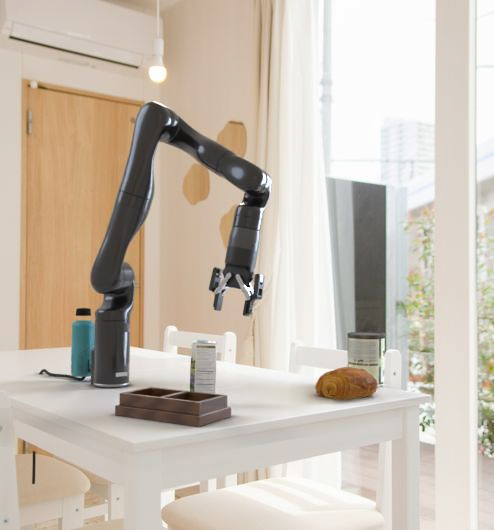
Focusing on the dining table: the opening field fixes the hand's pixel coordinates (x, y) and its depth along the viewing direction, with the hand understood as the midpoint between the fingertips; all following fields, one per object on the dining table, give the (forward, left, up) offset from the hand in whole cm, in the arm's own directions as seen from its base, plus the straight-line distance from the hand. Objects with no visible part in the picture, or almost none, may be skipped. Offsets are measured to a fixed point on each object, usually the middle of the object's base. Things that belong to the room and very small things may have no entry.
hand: (231, 313), depth 169 cm
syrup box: (+1, -13, -21) cm, 24 cm away
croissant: (+23, +18, -21) cm, 35 cm away
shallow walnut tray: (+2, -26, -20) cm, 33 cm away
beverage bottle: (-47, 0, -21) cm, 52 cm away
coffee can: (+21, +38, -21) cm, 48 cm away
